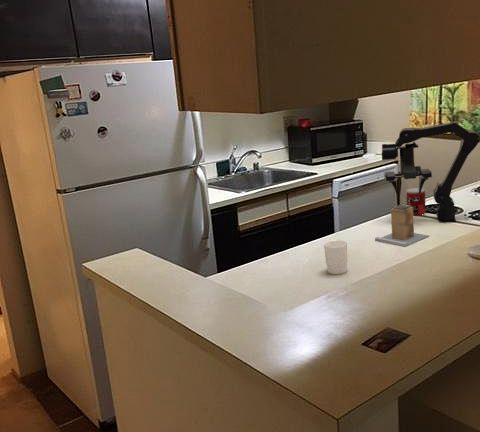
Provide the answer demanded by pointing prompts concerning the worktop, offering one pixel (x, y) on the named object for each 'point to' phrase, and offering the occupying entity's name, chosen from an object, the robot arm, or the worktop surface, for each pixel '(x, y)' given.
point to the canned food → (416, 201)
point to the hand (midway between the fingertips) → (408, 194)
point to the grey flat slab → (402, 243)
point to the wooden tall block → (402, 222)
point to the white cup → (336, 256)
